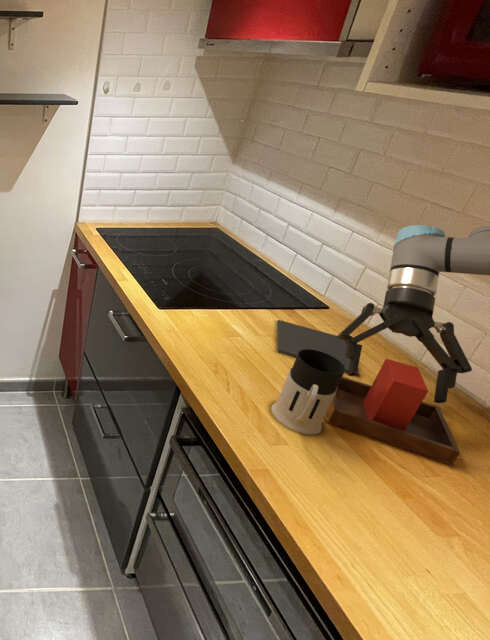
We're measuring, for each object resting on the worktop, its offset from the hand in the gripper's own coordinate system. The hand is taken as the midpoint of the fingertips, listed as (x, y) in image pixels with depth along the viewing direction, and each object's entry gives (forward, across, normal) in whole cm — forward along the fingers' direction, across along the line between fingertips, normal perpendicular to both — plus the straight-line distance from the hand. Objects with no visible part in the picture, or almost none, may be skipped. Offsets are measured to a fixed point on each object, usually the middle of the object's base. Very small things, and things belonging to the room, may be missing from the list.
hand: (394, 388), depth 91 cm
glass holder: (+15, +15, +3) cm, 21 cm away
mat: (-10, +10, -21) cm, 26 cm away
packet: (+6, 0, -5) cm, 8 cm away
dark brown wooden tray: (+6, 0, -5) cm, 8 cm away
